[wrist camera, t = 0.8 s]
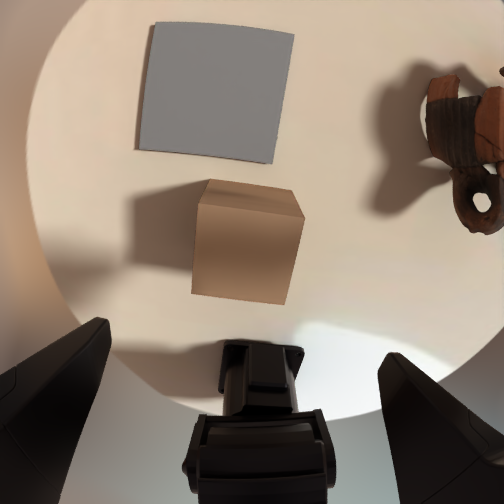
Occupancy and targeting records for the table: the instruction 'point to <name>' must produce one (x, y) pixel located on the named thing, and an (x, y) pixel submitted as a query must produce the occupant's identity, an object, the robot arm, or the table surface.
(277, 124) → the felt coaster
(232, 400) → the robot arm
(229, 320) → the table surface
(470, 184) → the pottery mug
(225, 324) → the table surface
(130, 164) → the table surface
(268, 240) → the walnut block
